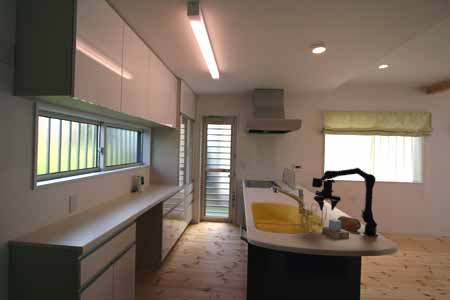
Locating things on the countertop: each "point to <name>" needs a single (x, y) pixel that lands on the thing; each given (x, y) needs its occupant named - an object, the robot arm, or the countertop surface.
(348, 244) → the countertop surface
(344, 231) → the walnut block
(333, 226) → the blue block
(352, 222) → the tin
